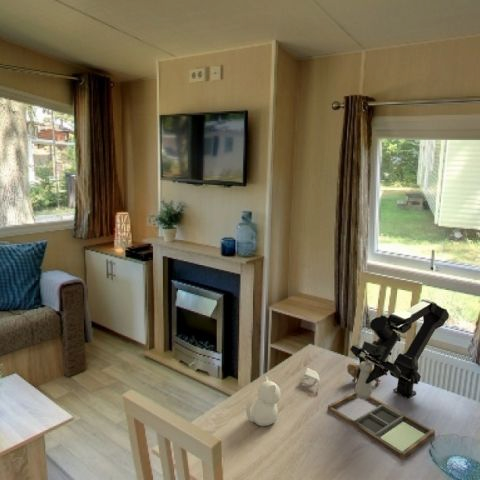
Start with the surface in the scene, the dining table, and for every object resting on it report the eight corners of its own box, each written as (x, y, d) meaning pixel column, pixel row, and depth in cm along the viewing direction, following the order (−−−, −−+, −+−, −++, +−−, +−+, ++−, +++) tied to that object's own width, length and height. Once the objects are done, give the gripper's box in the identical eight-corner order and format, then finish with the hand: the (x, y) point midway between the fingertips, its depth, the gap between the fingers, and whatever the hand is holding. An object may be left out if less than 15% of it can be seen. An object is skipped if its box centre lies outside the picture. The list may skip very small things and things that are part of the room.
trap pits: (381, 407, 148) (382, 404, 147) (403, 420, 141) (403, 416, 140) (353, 424, 138) (353, 420, 137) (375, 439, 131) (375, 435, 130)
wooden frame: (359, 393, 156) (359, 388, 156) (434, 435, 133) (435, 430, 133) (327, 410, 145) (327, 405, 145) (403, 460, 122) (404, 454, 121)
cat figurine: (284, 425, 136) (287, 385, 134) (251, 433, 131) (253, 392, 129) (271, 410, 145) (274, 372, 142) (240, 417, 139) (242, 378, 137)
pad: (402, 422, 139) (403, 421, 139) (426, 436, 133) (426, 435, 133) (379, 438, 131) (379, 437, 131) (403, 453, 125) (403, 452, 124)
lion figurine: (348, 387, 160) (350, 366, 159) (343, 380, 166) (345, 360, 164) (383, 385, 162) (385, 365, 160) (377, 378, 167) (379, 359, 166)
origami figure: (294, 381, 164) (294, 370, 163) (309, 376, 168) (310, 365, 167) (314, 396, 154) (315, 384, 153) (329, 390, 158) (330, 378, 157)
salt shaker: (372, 401, 140) (376, 368, 137) (356, 400, 140) (359, 367, 137) (369, 392, 145) (372, 359, 142) (353, 391, 146) (356, 358, 143)
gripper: (355, 324, 148) (332, 359, 144) (399, 344, 132) (374, 383, 129) (367, 338, 153) (345, 372, 150) (410, 359, 138) (387, 397, 135)
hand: (362, 380), depth 140 cm, fingers closed on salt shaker, 3 cm apart
